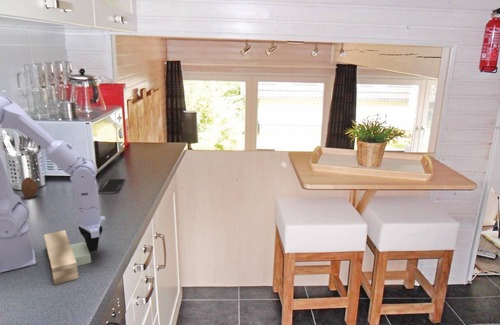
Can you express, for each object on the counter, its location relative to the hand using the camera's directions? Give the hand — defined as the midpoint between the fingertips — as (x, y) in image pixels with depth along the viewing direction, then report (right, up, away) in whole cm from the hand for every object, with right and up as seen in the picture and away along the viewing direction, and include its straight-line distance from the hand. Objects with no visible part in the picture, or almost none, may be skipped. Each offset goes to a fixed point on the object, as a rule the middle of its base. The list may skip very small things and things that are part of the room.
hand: (92, 250), depth 110 cm
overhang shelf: (-7, -2, -4) cm, 8 cm away
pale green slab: (-4, -2, -2) cm, 5 cm away
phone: (-12, +14, +51) cm, 54 cm away
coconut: (-38, +11, +38) cm, 55 cm away
